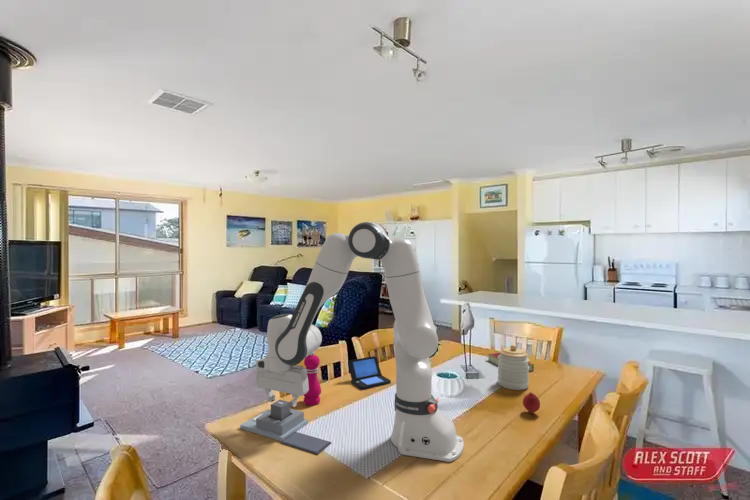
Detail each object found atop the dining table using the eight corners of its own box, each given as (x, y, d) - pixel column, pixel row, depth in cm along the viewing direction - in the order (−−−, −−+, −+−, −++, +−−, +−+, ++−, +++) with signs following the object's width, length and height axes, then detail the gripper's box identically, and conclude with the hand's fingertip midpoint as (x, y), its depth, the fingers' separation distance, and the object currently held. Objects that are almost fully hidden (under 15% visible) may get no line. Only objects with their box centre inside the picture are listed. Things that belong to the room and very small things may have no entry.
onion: (540, 411, 137) (540, 389, 136) (539, 418, 131) (540, 395, 131) (523, 408, 139) (523, 387, 139) (522, 414, 134) (522, 392, 134)
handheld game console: (361, 391, 155) (361, 369, 155) (346, 381, 167) (346, 360, 167) (392, 383, 164) (392, 363, 164) (376, 374, 175) (376, 355, 175)
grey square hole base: (308, 423, 126) (308, 411, 126) (282, 441, 115) (282, 428, 115) (267, 412, 135) (267, 401, 134) (240, 428, 123) (240, 415, 123)
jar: (531, 383, 164) (531, 343, 164) (525, 393, 153) (526, 350, 153) (501, 377, 171) (501, 339, 171) (494, 386, 160) (494, 346, 160)
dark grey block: (290, 422, 125) (290, 401, 124) (281, 428, 121) (281, 406, 120) (279, 419, 127) (279, 399, 126) (270, 425, 123) (270, 404, 122)
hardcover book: (506, 358, 201) (506, 351, 201) (533, 371, 181) (533, 363, 181) (487, 360, 197) (487, 353, 197) (513, 374, 177) (513, 365, 177)
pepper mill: (317, 407, 139) (317, 354, 139) (299, 405, 141) (299, 353, 140) (323, 399, 146) (323, 349, 146) (306, 397, 148) (306, 348, 147)
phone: (331, 445, 114) (331, 441, 114) (317, 456, 108) (317, 453, 108) (295, 434, 120) (295, 431, 120) (280, 445, 114) (280, 441, 114)
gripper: (312, 363, 122) (313, 405, 122) (265, 356, 131) (266, 394, 131) (300, 369, 116) (301, 413, 116) (252, 361, 125) (252, 401, 125)
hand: (282, 403), depth 124 cm, fingers open, 8 cm apart
